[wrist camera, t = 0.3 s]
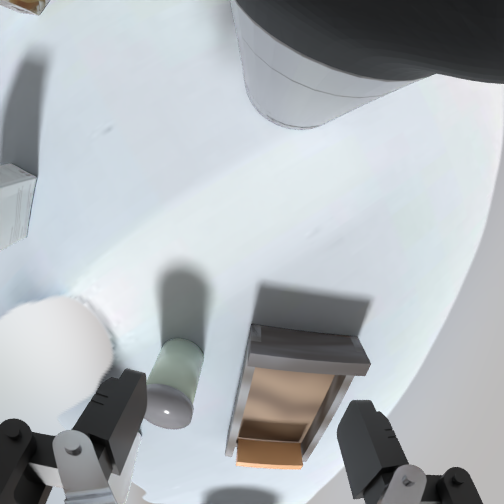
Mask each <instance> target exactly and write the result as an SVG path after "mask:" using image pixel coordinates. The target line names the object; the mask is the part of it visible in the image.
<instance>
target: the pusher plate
mask: <svg viewBox="0 0 504 504" xmlns="http://www.w3.org/2000/svg"><path fill="white" fill-rule="evenodd" d="M236 466H245V467H256V468H270V469H301V468H302V466H303V462H302V454H301V445H300V443H281V442H266V441H255V440H246V439H238V443H237V456H236Z"/></svg>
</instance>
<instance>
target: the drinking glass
mask: <svg viewBox="0 0 504 504" xmlns="http://www.w3.org/2000/svg"><path fill="white" fill-rule="evenodd" d="M141 440H142V438H141V435H140V433H139V432H137V435H136V437H135V440H134V442H133V445H132V447H131V450H130V452H129V455H128V457H127V460H126V462H125V465H124V467H123V470H122V472H121V475H120V476H119V475H116V474H113V473H111V475H110V477H109V480H108V484H109V486H110V488H111V490H112V493H113V495H114V497H115V499H116V501H117V503H118V504H125V503H126V500H127V497H128V494H129V490H130V485H131V481H132V476H133V471H134V467H135V462H136V458H137V454H138V450H139V446H140V444H141Z"/></svg>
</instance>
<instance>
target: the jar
mask: <svg viewBox="0 0 504 504" xmlns="http://www.w3.org/2000/svg"><path fill="white" fill-rule="evenodd" d="M203 361H204V356H203V353H202V351H201V349H200V348H199V347H198V346H197V345H196V344H194V343H193V342H191V341H189V340H186V339H182V338H174V339H170V340H168V341H167V342H166V343H165V344H164V345H163V347H162V349H161V351H160V353H159V356H158V358H157V360H156V362H155V364H154V366H153V369H152V371H151V373H150V375H149V377H148V380H147V382H146V386H147V409H146V413H145V416H144V419H146V420H147V421H148V422H150V423H152V424H154V425H156V426H159V427H162V428H166V429H181V428H184V427H186V426H188V425H189V424H190V422H191V419H192V415H193V410H194V408H193V401H194V397H195V393H196V389H197V385H198V381H199V377H200V373H201V369H202V365H203Z"/></svg>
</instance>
